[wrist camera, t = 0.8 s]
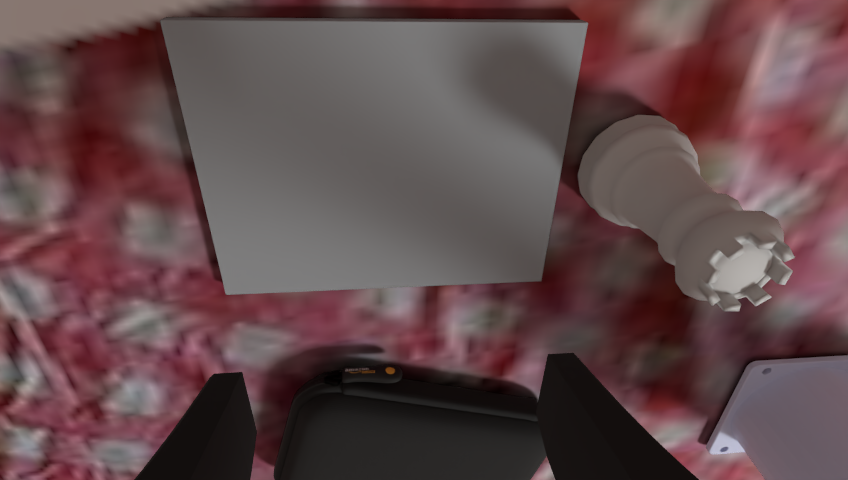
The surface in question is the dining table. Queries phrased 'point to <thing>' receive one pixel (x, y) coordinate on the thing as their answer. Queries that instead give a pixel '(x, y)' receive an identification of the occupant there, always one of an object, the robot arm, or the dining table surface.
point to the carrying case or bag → (406, 430)
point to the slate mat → (376, 146)
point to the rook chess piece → (683, 212)
